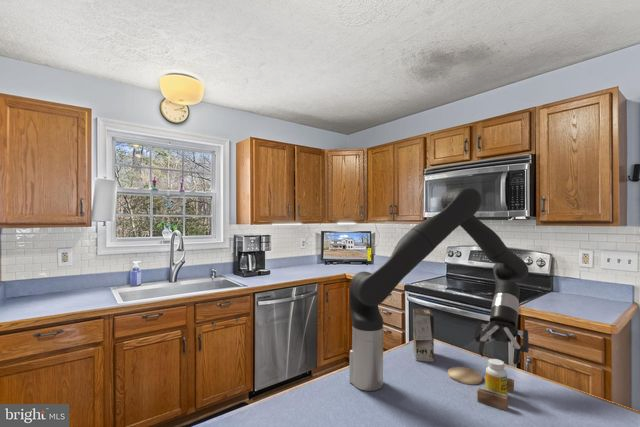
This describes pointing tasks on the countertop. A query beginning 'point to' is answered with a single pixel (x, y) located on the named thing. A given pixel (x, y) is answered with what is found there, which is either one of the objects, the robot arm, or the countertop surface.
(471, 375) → the trivet
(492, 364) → the supplement bottle
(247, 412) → the countertop surface
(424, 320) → the coffee box
